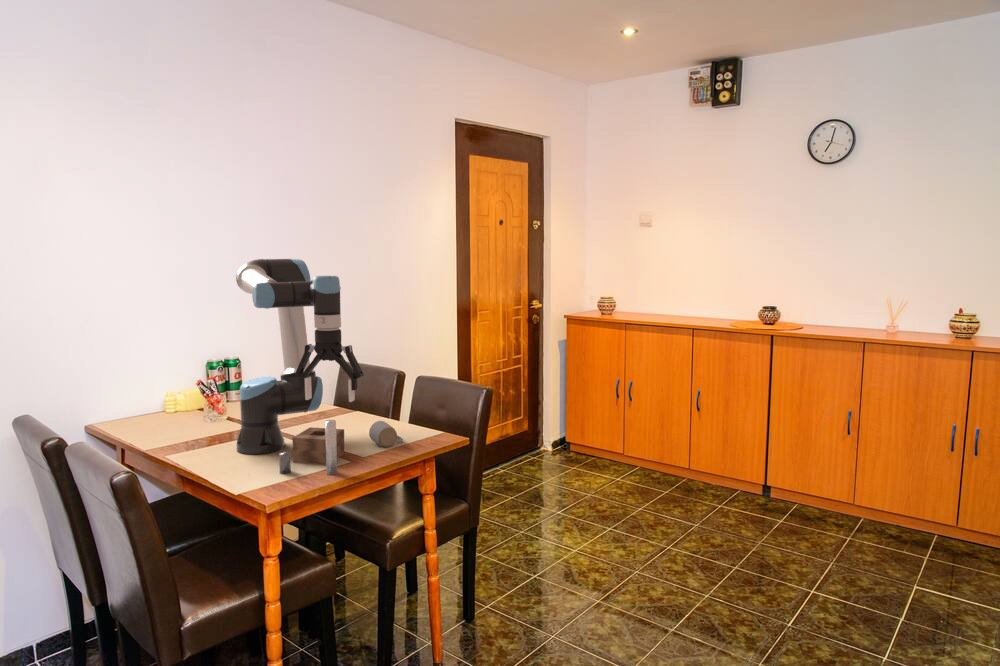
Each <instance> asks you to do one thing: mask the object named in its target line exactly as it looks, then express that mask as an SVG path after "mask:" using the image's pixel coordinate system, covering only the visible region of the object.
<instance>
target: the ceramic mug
mask: <svg viewBox="0 0 1000 666" xmlns="http://www.w3.org/2000/svg"><path fill="white" fill-rule="evenodd" d="M368 434H369V438H370V439H371V440H372V442H373V443H376V444H377V445H379V446H381V447H383V448H390V447H391V446H393V445H394V444H395V443H398V444H402V443H403V441H404V438H403V437H401V436H399V435H398V433H397V431H396V429H395V428H394V427H393V426H391V425H390V424H389V423H388V422H386V421H384V420H377V421H375V422H373V424H372V425H371V426H370V428H369V432H368Z"/></svg>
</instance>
